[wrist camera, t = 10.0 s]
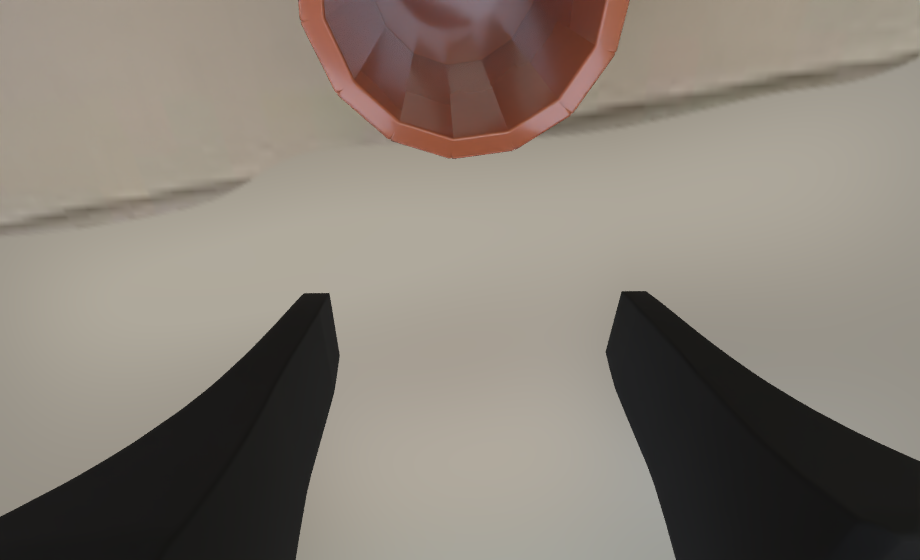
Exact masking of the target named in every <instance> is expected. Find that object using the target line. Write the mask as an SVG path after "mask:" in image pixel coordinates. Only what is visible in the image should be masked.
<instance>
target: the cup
mask: <svg viewBox="0 0 920 560" xmlns="http://www.w3.org/2000/svg"><path fill="white" fill-rule="evenodd" d="M629 1H630V0H298V5H299V17H300V20H301V25H302V27H303V29H304V31H305V33H306V35H307V37H308V39H309V41H310V43H311V45H312V47H313V49H314V51H315V53H316V55H317V57H318V59H319V61H320V63H321V65H322V67H323V69H324V71H325V73H326V75H327V77H328V79H329V81H330V83H331V85H332V87H333V89H334V91H335V92H336V93H337V94H338V96H339V97H340V98H341V99H343V100H344V101H345V102H346V103H347V104H348V105H349V106H351V107H352V108H353V109H354V110H355V111H356V112H358V113H359V114H360V115H361V116H362V117H363V118H364V119H366V120H367V121H368V122H369V123H370V124H371V125H373V126H374V127H375V128H376V129H377V130H378V131H379V132H381V133H382V134H383V135H384V136H385V137H386V138H388V139H391V141H393V142H397V143H400V144H403V145H407V146H410V147H413V148H416V149H420V150H423V151H426V152H430V153H433V154H436V155H439V156H443V157H446V158H452V159H456V158H464V157H470V156H478V155H485V154H493V153H500V152H507V151H512V150H514V149H517V148H519V147H521V146H522V145H524V144H526V143H527V142H529V141H530V140H532V139H534V138H535V137H537V136H538V135H540V134H542V133H543V132H545V131H547V130H548V129H550V128H551V127H553V126H555V125H556V124H558V123H559V122H561V121H563V120H564V119H566V118H567V117H569V116H570V115H571V114H572V113H573V112H574V111H575V110H576V108H577V107H578V105H579V104H580V103H581V101H582V100H583V99H584V97H585V96H586V94H587V93H588V92H589V90H590V89H591V87H592V86H593V85H594V83H595V82H596V80H597V79H598V78H599V76H600V75H601V74H602V72H603V71H604V69H605V68H606V67H607V65H608V64H609V62H610V61H611V60H612V58H613V57H614V55H615V52H616V51H617V48H618V44H619V40H620V36H621V32H622V28H623V24H624V21H625V17H626V13H627V9H628V5H629Z"/></svg>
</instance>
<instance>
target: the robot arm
mask: <svg viewBox="0 0 920 560" xmlns="http://www.w3.org/2000/svg"><path fill="white" fill-rule="evenodd" d="M606 355H607V359H608V363H609V368H610V372H611V375H612V379H613V382H614V386H615V389H616V392H617V394H618V397H619V399H620V401H621V404H622V406H623V409H624V411H625V414H626V416H627V418H628V421H629V423H630V426H631V428H632V430H633V433H634V435H635V438H636V440H637V442H638V445H639V447H640V450H641V452H642V454H643V457H644V459H645V461H646V464H647V466H648V469H649V471H650V474H651V477H652V480H653V482H654V485H655V488H656V492H657V495H658V498H659V502H660V505H661V508H662V512H663V515H664V518H665V521H666V525H667V529H668V533H669V536H670V540H671V543H672V547H673V550H674V554H675V558H676V560H920V461H918V460H915V459H913V458H911V457H909V456H907V455H904V454H902V453H900V452H898V451H896V450H893V449H891V448H889V447H887V446H885V445H882V444H880V443H878V442H876V441H874V440H872V439H870V438H868V437H865V436H863V435H861V434H859V433H857V432H855V431H853V430H851V429H849V428H847V427H845V426H843V425H841V424H840V423H838V422H836V421H834V420H832V419H830V418H828V417H826V416H824V415H823V414H821V413H819V412H817V411H815V410H813V409H811V408H809V407H808V406H806V405H804V404H803V403H801V402H799V401H797V400H796V399H794V398H793V397H791V396H789V395H788V394H786V393H784V392H783V391H781V390H779V389H777V388H776V387H774V386H773V385H771V384H770V383H768V382H766V381H765V380H763V379H762V378H760V377H759V376H757V375H756V374H754V373H752V372H751V371H750V370H748V369H747V368H745V367H744V366H742V365H741V364H740V363H738V362H737V361H736V360H734V359H733V358H731V357H730V356H729V355H727V354H726V353H725V352H723V351H722V350H720V349H719V348H718V347H716V346H715V345H714V344H712V343H711V342H710V341H708V340H707V339H706V338H705V337H703V336H702V335H701V334H700V333H698V332H697V331H696V330H695V329H693V328H692V327H691V326H689V325H688V324H687V323H686V322H684V321H683V320H682V319H681V318H680V317H678V316H677V315H676V314H675V313H673V312H672V311H671V310H669V309H668V308H667V307H666V306H665V305H663V304H662V303H661V302H659V301H658V300H657V299H655V298H654V297H653V296H652V295H650V294H649V293H648V292H646V291H625V292H624V291H622V292H621V296H620V300H619V304H618V307H617V311H616V315H615V319H614V323H613V326H612V330H611V334H610V338H609V341H608V345H607V349H606ZM338 363H339V349H338V343H337V337H336V331H335V325H334V319H333V312H332V306H331V300H330V295H329V293H305V294H303V295H302V296H301V297H300V298H299V299H298V300H297V301H296V302H295V303H294V304H293V305H292V306H291V307H290V309H289V310H288V311H287V312H286V313H285V314H284V315H283V316H282V317H281V318H280V320H279V321H278V322H277V323H276V324H275V325H274V326H273V327H272V328H271V329H270V330H269V331H268V332H267V333H266V334H265V336H263V338H262V339H261V340H260V341H259V342H258V343H257V344H256V345H255V346H254V347H253V348H252V349H251V350H250V351H249V352H248V353H247V354H246V355H245V356H244V357H243V358H242V359H240V360H239V361H238V362H237V363H236V364H235V365H234V366H233V367H232V368H231V369H230V370H229V371H228V372H226V373H225V374H224V375H223V376H222V377H221V378H220V379H219V380H218V381H216V382H215V383H214V384H213V385H212V386H211V387H209V388H208V389H207V390H206V391H205V392H203V393H202V394H201V395H200V396H198V397H197V398H196V399H194V400H193V401H192V402H190V403H189V404H188V405H187V406H185V407H184V408H183V409H181V410H180V411H179V412H177V413H176V414H175V415H173V416H172V417H170V418H169V419H167V420H166V421H164V422H163V423H161V424H160V425H159V426H157V427H156V428H154V429H153V430H151V431H150V432H148V433H147V434H145V435H144V436H143V437H141V438H140V439H138V440H137V441H135V442H134V443H132V444H131V445H129V446H127V447H126V448H124V449H122V450H121V451H119V452H118V453H116V454H114V455H113V456H111V457H110V458H108V459H106V460H105V461H103V462H101V463H99V464H98V465H96V466H94V467H93V468H91V469H89V470H87V471H86V472H84V473H82V474H81V475H79V476H77V477H75V478H73V479H72V480H70V481H68V482H66V483H64V484H63V485H61V486H59V487H57V488H55V489H53V490H51V491H49V492H47V493H45V494H43V495H41V496H39V497H38V498H36V499H34V500H32V501H30V502H28V503H26V504H24V505H22V506H20V507H19V508H17V509H15V510H13V511H11V512H9V513H7V514H5V515H3V516H1V517H0V560H296V553H297V547H298V541H299V535H300V529H301V523H302V517H303V511H304V506H305V500H306V494H307V490H308V486H309V482H310V477H311V473H312V470H313V466H314V463H315V459H316V456H317V452H318V448H319V445H320V441H321V438H322V434H323V431H324V427H325V424H326V420H327V416H328V413H329V409H330V406H331V402H332V398H333V395H334V390H335V384H336V377H337V370H338Z"/></svg>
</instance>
